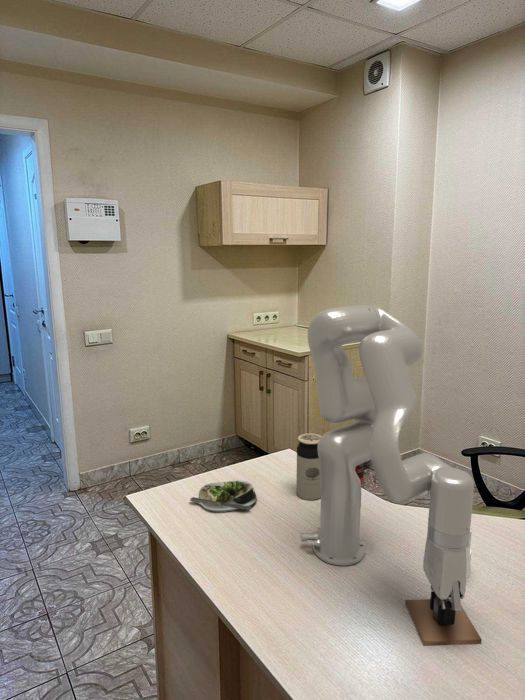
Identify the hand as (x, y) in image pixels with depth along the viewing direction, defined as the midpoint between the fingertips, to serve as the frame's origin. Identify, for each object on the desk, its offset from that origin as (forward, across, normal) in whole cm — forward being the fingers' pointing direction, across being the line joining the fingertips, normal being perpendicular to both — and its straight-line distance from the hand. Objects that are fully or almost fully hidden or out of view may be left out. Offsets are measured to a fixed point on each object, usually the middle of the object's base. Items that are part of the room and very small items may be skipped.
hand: (441, 615), depth 98 cm
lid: (+2, 0, 0) cm, 2 cm away
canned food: (+2, -60, -6) cm, 61 cm away
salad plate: (+2, -50, -44) cm, 67 cm away
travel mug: (+2, -52, -20) cm, 56 cm away
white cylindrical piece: (+2, -16, +8) cm, 18 cm away
